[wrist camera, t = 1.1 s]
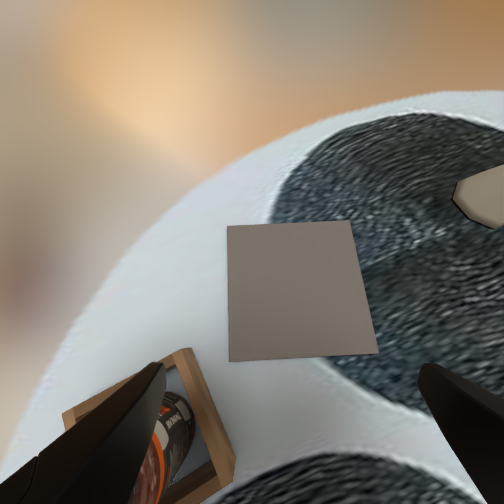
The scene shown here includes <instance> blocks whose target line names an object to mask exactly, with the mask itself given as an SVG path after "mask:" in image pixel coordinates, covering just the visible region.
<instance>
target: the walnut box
mask: <svg viewBox="0 0 504 504" xmlns="http://www.w3.org/2000/svg"><path fill="white" fill-rule="evenodd" d="M158 362H163V363H164V364H165V372H166V371H168V370H169V369H171V368H173V367H175V366H176V367H177V369H178V372H179V374H180V377H181V380H182V382H183V385H184V388H185V390H186V393H187V396H188V398H189V401H190V404H191V406H192V409H193V412H194V414H195V417H196V420H197V422H198V425H199V428H200V430H201V433H202V436H203V438H204V441H205V444H206V446H207V449H208V452H209V454H210V457H211V461H209V462H208V463H206V464H205V465H203V466H201V467H200V468H198V469H197V470H195V471H194V472H192V473H191V474H189V475H187V476H186V477H184V478H183V479H181V480H180V481H178V482H177V483H175V484H173V485H172V486H170V487H169V488H167V489H166V491H165V493H164V494H163V496H162V498H161V500H160V502H159V503H158V504H200V503H201V502H203V501H204V500H206V499H207V498H209V497H210V496H211V495H213V494H214V493H216V492H217V491H219V490H220V489H222V488H223V487H225V486H226V485H228V484H229V483H231V482H232V481H233V475H234V468H235V460H236V457H235V454H234V452H233V449H232V447H231V444H230V442H229V439H228V437H227V434H226V432H225V429H224V427H223V425H222V422H221V420H220V417H219V415H218V412H217V410H216V407H215V405H214V402H213V400H212V397H211V395H210V393H209V390H208V388H207V385H206V383H205V380H204V378H203V375H202V373H201V370H200V368H199V365H198V363H197V361H196V358H195V356H194V353H193V351H192V348H184V349H180V350H178V351H176V352H174V353H172V354H171V355H169V356H167V357H165V358H163V359H161V360H160V361H158ZM139 372H140V371H139ZM136 374H137V373H136ZM136 374H134V375H132V376H130V377H128V378H126V379H125V380H123V381H121V382H119V383H117V384H115V385H114V386H112V387H110V388H108V389H106V390H104V391H103V392H101V393H99V394H97V395H95V396H93V397H91V398H90V399H88V400H86V401H84V402H82V403H80V404H79V405H77V406H75V407H73V408H71V409H69V410H68V411H66V412H64V413H62V417H63V422H64V427H65V432H66V431H67V430H68V429H69V428H71V427H72V426H73V425H74V424H76V423H77V422H78V421H79V420H81V419H82V418H83V417H84V416H85V415H87V414H88V413H89V412H90V411H92V410H93V409H94V408H95V407H97V406H98V405H99V404H100V403H102V402H103V401H104V400H105V399H106V398H108V397H109V396H110V395H111V394H113V393H114V392H115V391H116V390H118V389H119V388H120V387H121V386H122V385H124V384H125V383H126V382H127V381H129V380H130V379H131V378H132V377H134V376H135V375H136Z"/></svg>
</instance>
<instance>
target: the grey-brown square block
mask: <svg viewBox="0 0 504 504" xmlns="http://www.w3.org/2000/svg"><path fill="white" fill-rule="evenodd" d="M227 248H228V312H229V362H232V361H250V360H267V359H285V358H302V357H320V356H338V355H355V354H373V353H379V351H378V347H377V342H376V338H375V333H374V329H373V324H372V320H371V315H370V311H369V306H368V302H367V297H366V293H365V288H364V284H363V280H362V275H361V271H360V266H359V262H358V257H357V253H356V248H355V244H354V239H353V235H352V230H351V226H350V221H327V222H305V223H282V224H260V225H238V226H227Z"/></svg>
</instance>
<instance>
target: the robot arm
mask: <svg viewBox="0 0 504 504" xmlns="http://www.w3.org/2000/svg"><path fill="white" fill-rule="evenodd" d="M417 387H418V389H419V391H420V393H421V395H422V397H423V399H424V401H425V402H426V404H427V406H428V408H429V410H430V412H431V413H432V415H433V417H434V419H435V421H436V423H437V424H438V426H439V428H440V430H441V432H442V433H443V435H444V437H445V439H446V440H447V442H448V443H449V445H450V447H451V448H452V450H453V451H454V453H455V454H456V456H457V457H458V459H459V461H460V462H461V464H462V465H463V467H464V468H465V470H466V471H467V473H468V474H469V476H470V478H471V479H472V481H473V482H474V484H475V485H476V487H477V488H478V490H479V491H480V493H481V494H482V496H483V498H484V499H485V501H486V502H487V504H504V399H502V398H500V397H498V396H496V395H495V394H493V393H491V392H489V391H487V390H485V389H483V388H481V387H480V386H478V385H476V384H474V383H472V382H470V381H468V380H466V379H464V378H463V377H461V376H459V375H457V374H455V373H453V372H451V371H449V370H448V369H446V368H444V367H442V366H440V365H438V364H435V363H424V364H422V365H421V368H420V372H419V375H418V379H417ZM165 389H166V372H165V364H164V363H163V362H151V363H150V364H148V365H147V366H146V367H145V368H143V369H142V370H141V371H140V372H138V373H137V374H136V375H135V376H134V377H132V378H131V379H130V380H129V381H127V382H126V383H125V384H124V385H122V386H121V387H120V388H119V389H118V390H116V391H115V392H114V393H113V394H111V395H110V396H109V397H108V398H106V399H105V400H104V401H103V402H102V403H100V404H99V405H98V406H97V407H95V408H94V409H93V410H92V411H90V412H89V413H88V414H87V415H85V416H84V417H83V418H82V419H81V420H79V421H78V422H77V423H76V424H74V425H73V426H72V427H71V428H69V429H68V430H67V431H66V432H65V433H63V434H62V435H61V436H60V437H58V438H57V439H56V440H55V441H53V442H52V443H51V444H50V445H49V446H47V447H46V448H45V449H44V450H42V451H41V452H40V453H39V454H38V456H35V457H34V458H32V459H31V460H30V461H29V462H27V463H26V464H25V465H24V466H22V467H21V468H20V469H19V470H18V471H16V472H15V473H14V474H12V475H11V476H10V477H9V478H7V479H6V480H5V481H4V482H2V483H1V484H0V504H128V501H129V498H130V496H131V493H132V490H133V488H134V485H135V482H136V480H137V477H138V474H139V472H140V469H141V466H142V464H143V461H144V459H145V456H146V453H147V451H148V448H149V445H150V442H151V439H152V436H153V433H154V429H155V426H156V422H157V418H158V415H159V411H160V407H161V404H162V400H163V396H164V393H165Z"/></svg>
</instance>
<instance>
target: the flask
mask: <svg viewBox="0 0 504 504" xmlns="http://www.w3.org/2000/svg"><path fill="white" fill-rule="evenodd" d="M453 200H454V201H455V202H456V204H457V205H458V206H459V207H460V208H461V209H462V211H463V212H464V213H465V214H466V215H467V216H468V218H470V219H472V220H474V221H477V222H479V223H481V224H484V225H486V226H488V227H491V228H493V229H497V228H499V227H501V226H503V225H504V165H501V166H498V167H495V168H492V169H490V170H487V171H484V172H481V173H478V174H476V175H473V176H471V177H469V178H466V179H464V180H461V181H459V182H458V183H457V186H456V190H455V193H454V196H453Z"/></svg>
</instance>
